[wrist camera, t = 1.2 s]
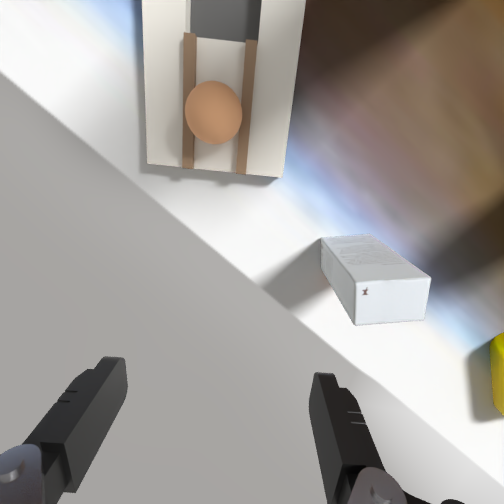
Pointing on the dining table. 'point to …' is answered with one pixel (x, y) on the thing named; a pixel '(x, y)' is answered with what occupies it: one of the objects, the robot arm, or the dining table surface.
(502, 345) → the element tile
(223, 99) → the ball
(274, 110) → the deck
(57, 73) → the dining table surface
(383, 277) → the skincare box
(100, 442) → the robot arm
